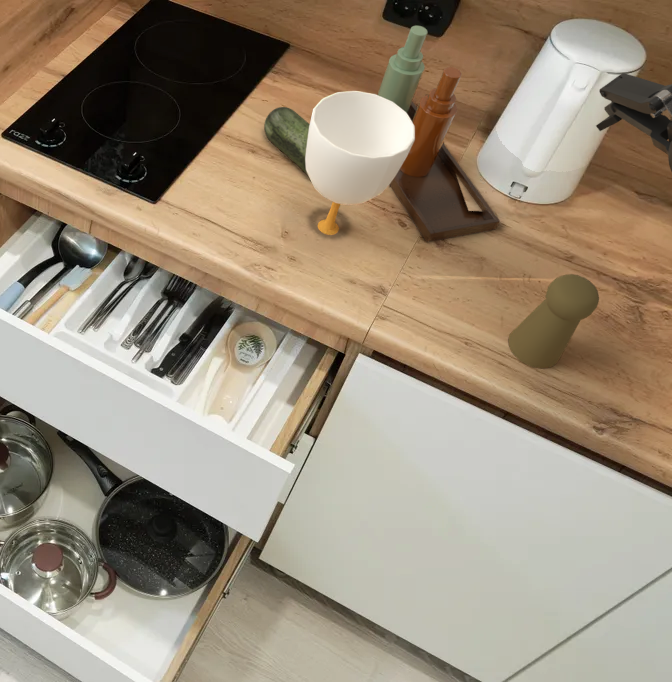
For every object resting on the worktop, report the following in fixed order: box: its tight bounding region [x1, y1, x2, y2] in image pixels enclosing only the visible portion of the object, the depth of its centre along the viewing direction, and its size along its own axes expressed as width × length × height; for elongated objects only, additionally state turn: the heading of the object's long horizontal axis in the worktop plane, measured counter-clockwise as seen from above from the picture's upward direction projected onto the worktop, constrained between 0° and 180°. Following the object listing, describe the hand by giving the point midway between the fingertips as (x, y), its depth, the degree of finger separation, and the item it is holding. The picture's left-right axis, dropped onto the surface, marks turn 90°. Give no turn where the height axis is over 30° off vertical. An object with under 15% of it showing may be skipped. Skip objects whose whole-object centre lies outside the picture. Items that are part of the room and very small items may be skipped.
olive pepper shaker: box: [507, 273, 600, 369], centre depth 90 cm, size 6×6×11 cm
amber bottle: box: [400, 66, 462, 177], centre depth 105 cm, size 5×5×15 cm
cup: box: [305, 90, 415, 236], centre depth 96 cm, size 12×12×17 cm
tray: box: [389, 100, 501, 243], centre depth 111 cm, size 27×10×2 cm, turn 16°
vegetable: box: [263, 106, 310, 176], centre depth 109 cm, size 14×5×5 cm, turn 36°
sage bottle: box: [376, 25, 428, 113], centre depth 110 cm, size 5×5×15 cm
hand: (648, 171), depth 85 cm, fingers open, 13 cm apart
